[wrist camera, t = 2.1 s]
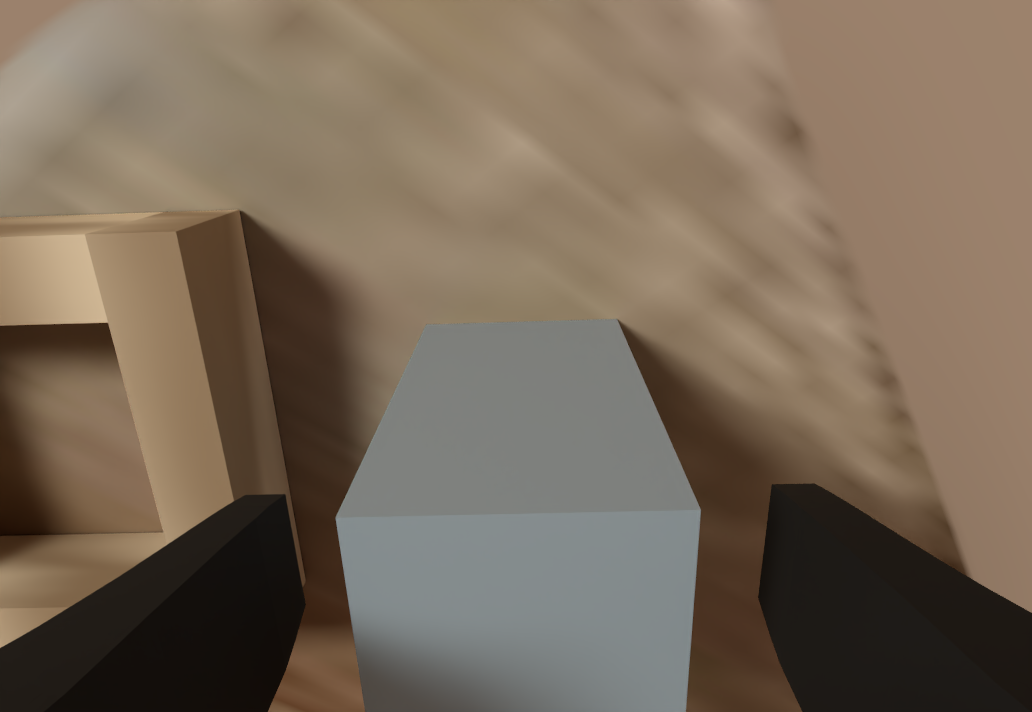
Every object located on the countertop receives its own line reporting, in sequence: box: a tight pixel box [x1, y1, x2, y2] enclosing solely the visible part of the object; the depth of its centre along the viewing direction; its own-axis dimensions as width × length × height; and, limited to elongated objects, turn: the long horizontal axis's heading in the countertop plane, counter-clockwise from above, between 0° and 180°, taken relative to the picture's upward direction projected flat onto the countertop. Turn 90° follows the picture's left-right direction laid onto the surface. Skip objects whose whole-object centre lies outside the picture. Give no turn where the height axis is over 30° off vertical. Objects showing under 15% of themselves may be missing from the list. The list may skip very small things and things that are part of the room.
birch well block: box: [0, 210, 306, 648], centre depth 13 cm, size 9×9×2 cm
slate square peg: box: [336, 319, 701, 712], centre depth 11 cm, size 4×4×7 cm
